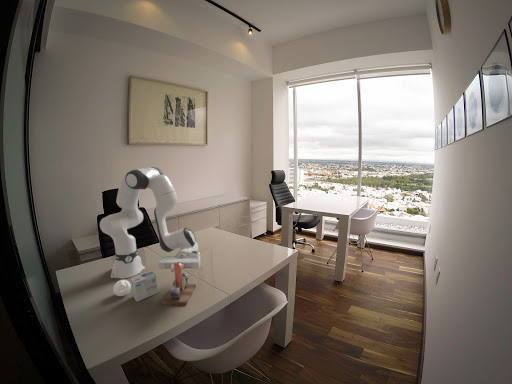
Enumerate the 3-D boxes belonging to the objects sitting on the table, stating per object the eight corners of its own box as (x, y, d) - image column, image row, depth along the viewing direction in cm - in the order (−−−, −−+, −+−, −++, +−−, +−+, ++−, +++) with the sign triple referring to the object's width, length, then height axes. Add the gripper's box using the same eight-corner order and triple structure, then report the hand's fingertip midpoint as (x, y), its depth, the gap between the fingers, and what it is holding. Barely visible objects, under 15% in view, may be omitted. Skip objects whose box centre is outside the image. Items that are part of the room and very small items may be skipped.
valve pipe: (180, 284, 126) (179, 272, 125) (188, 284, 126) (188, 272, 125) (170, 300, 112) (169, 287, 111) (179, 300, 112) (178, 287, 111)
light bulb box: (153, 288, 126) (151, 270, 124) (158, 293, 121) (156, 274, 119) (132, 296, 118) (130, 277, 117) (136, 302, 114) (134, 282, 112)
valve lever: (182, 277, 119) (180, 253, 117) (182, 290, 107) (181, 264, 105) (176, 278, 118) (174, 254, 116) (176, 291, 106) (174, 265, 104)
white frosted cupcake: (114, 301, 115) (113, 286, 114) (113, 294, 121) (111, 280, 120) (132, 295, 119) (131, 281, 118) (130, 288, 125) (129, 275, 124)
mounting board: (174, 286, 127) (174, 283, 127) (196, 286, 127) (195, 284, 127) (162, 304, 111) (161, 302, 111) (186, 305, 111) (186, 302, 111)
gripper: (164, 252, 122) (152, 264, 108) (202, 251, 122) (195, 264, 108) (165, 263, 123) (153, 276, 109) (203, 263, 123) (196, 276, 109)
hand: (174, 270), depth 108 cm, fingers closed
